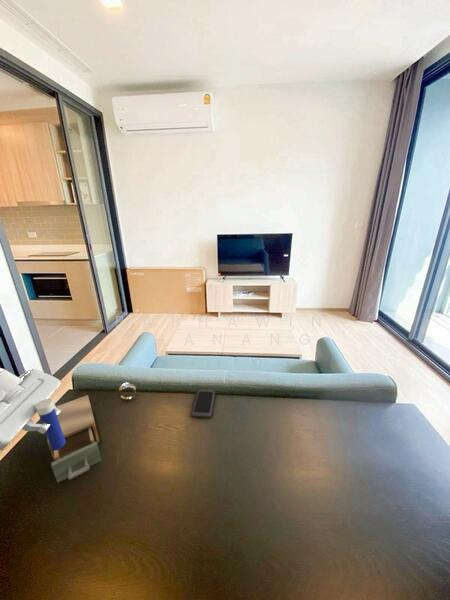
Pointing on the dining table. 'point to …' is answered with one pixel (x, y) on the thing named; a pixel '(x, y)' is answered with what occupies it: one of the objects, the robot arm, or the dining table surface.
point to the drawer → (76, 455)
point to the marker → (51, 423)
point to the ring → (124, 388)
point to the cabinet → (76, 418)
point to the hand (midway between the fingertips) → (52, 422)
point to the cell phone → (203, 403)
